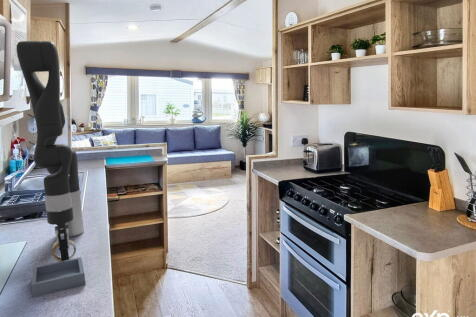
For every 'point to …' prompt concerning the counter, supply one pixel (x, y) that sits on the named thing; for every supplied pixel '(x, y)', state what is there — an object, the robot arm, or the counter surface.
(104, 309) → the counter surface
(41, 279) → the dish
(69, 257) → the ring
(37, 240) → the counter surface
